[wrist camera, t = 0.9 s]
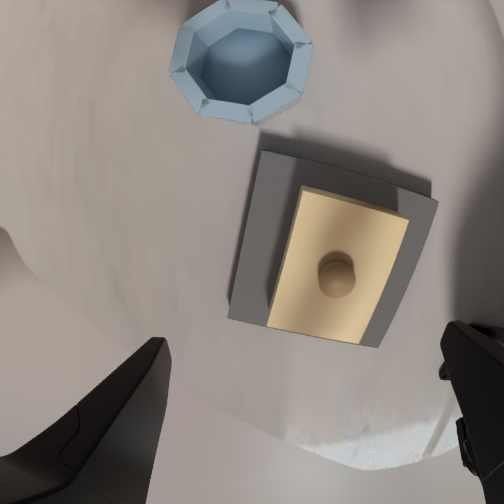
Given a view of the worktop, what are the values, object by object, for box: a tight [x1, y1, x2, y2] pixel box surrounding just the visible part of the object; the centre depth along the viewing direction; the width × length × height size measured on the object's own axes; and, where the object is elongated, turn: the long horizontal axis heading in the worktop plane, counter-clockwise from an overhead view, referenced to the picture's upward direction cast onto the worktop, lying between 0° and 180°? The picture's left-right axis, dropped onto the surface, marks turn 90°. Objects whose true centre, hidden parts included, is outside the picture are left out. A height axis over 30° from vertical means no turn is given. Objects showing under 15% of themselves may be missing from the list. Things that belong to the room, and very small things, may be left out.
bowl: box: [169, 0, 313, 125], centre depth 15 cm, size 7×7×4 cm
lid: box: [267, 185, 409, 344], centre depth 19 cm, size 6×9×3 cm
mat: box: [227, 150, 439, 348], centre depth 20 cm, size 12×12×1 cm
